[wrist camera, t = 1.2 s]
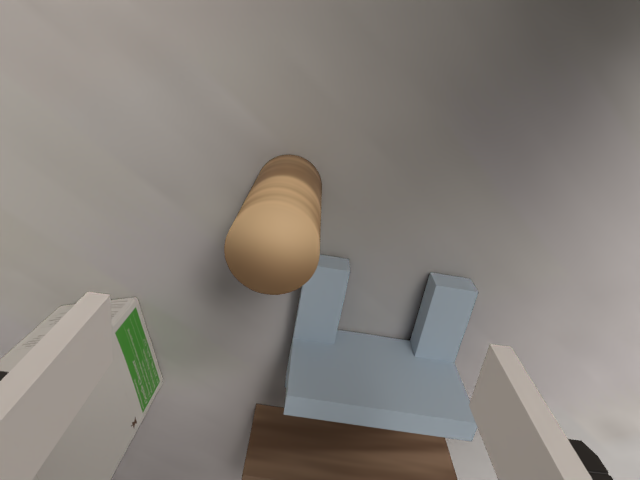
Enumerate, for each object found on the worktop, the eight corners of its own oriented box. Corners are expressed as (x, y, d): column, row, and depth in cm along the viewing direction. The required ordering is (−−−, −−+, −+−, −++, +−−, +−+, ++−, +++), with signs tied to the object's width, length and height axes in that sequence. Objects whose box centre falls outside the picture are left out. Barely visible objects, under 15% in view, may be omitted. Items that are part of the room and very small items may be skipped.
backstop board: (256, 403, 39) (242, 475, 32) (442, 430, 40) (465, 505, 33) (253, 422, 40) (239, 495, 33) (436, 448, 41) (457, 524, 34)
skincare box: (165, 380, 38) (68, 583, 24) (88, 388, 39) (-54, 592, 24) (136, 291, 35) (4, 462, 21) (52, 301, 35) (-136, 475, 21)
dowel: (261, 149, 31) (229, 200, 21) (326, 160, 31) (327, 216, 21) (253, 211, 32) (220, 286, 22) (316, 222, 33) (311, 301, 22)
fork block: (307, 252, 33) (302, 311, 26) (470, 278, 34) (510, 343, 27) (286, 370, 37) (276, 450, 30) (432, 392, 38) (458, 475, 31)
